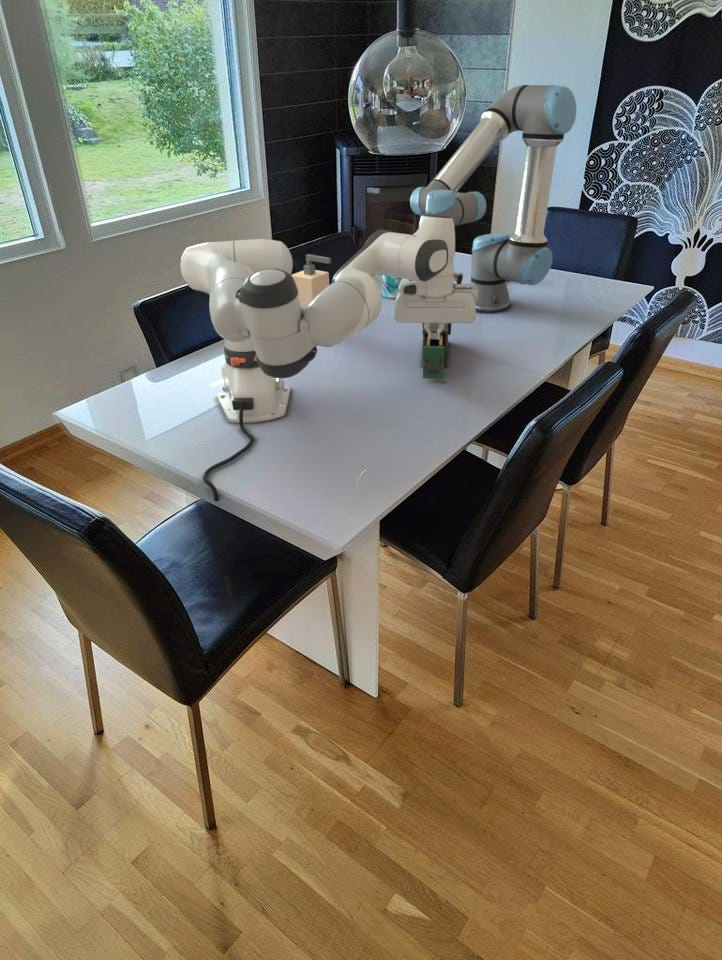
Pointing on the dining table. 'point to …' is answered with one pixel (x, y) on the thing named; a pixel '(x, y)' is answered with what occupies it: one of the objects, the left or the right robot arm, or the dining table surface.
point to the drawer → (434, 359)
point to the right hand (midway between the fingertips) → (436, 332)
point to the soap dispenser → (311, 279)
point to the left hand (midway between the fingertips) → (433, 338)
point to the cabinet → (445, 337)
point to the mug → (391, 286)
